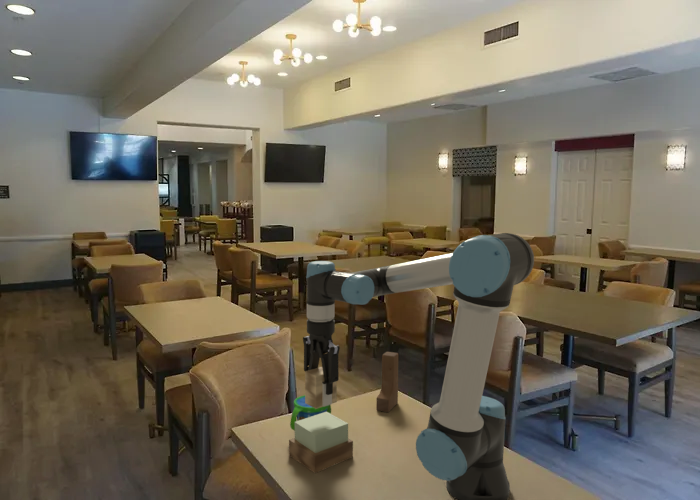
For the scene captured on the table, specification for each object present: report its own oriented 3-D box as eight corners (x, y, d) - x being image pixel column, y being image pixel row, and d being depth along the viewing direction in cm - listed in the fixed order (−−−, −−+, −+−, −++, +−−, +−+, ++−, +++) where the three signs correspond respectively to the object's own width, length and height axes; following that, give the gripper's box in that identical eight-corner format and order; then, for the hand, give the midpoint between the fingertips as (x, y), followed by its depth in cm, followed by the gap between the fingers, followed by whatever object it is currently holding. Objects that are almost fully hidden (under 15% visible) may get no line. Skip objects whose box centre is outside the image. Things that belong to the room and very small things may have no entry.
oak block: (336, 402, 144) (336, 370, 143) (316, 408, 140) (316, 376, 139) (325, 396, 148) (325, 365, 147) (305, 403, 143) (305, 371, 142)
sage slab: (348, 440, 144) (348, 423, 144) (315, 453, 138) (315, 435, 137) (326, 428, 152) (326, 411, 152) (294, 439, 145) (294, 421, 145)
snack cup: (319, 419, 168) (319, 389, 167) (342, 430, 161) (342, 398, 160) (280, 435, 157) (279, 402, 156) (302, 447, 150) (301, 413, 149)
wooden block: (388, 413, 174) (389, 360, 172) (375, 410, 176) (376, 358, 174) (398, 403, 182) (398, 352, 180) (386, 401, 184) (386, 351, 182)
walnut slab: (352, 458, 145) (352, 441, 144) (315, 474, 137) (315, 456, 136) (326, 442, 154) (326, 426, 153) (289, 456, 146) (289, 439, 145)
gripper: (353, 323, 137) (352, 408, 139) (312, 310, 150) (312, 388, 153) (330, 327, 132) (330, 416, 134) (290, 314, 145) (290, 395, 148)
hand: (320, 401), depth 144 cm, fingers closed on oak block, 5 cm apart
